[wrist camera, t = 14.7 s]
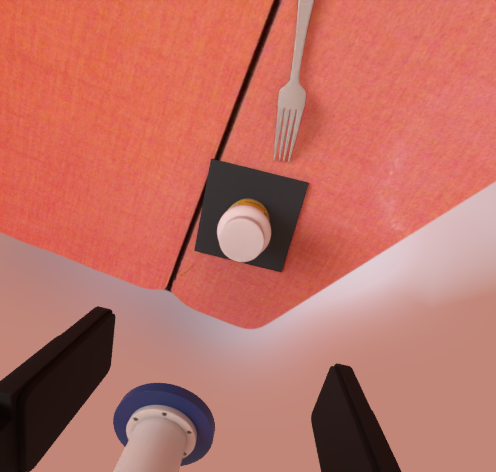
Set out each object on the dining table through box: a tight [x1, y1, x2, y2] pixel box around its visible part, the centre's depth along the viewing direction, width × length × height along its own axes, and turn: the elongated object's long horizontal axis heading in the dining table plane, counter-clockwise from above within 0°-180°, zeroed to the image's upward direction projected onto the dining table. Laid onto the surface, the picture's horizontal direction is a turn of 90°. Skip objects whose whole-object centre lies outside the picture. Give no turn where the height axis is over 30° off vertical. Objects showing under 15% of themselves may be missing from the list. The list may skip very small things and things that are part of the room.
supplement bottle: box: [217, 199, 271, 262], centre depth 25 cm, size 5×5×10 cm
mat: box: [195, 159, 309, 272], centre depth 30 cm, size 12×12×1 cm
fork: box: [274, 0, 314, 163], centre depth 25 cm, size 3×21×3 cm, turn 173°
